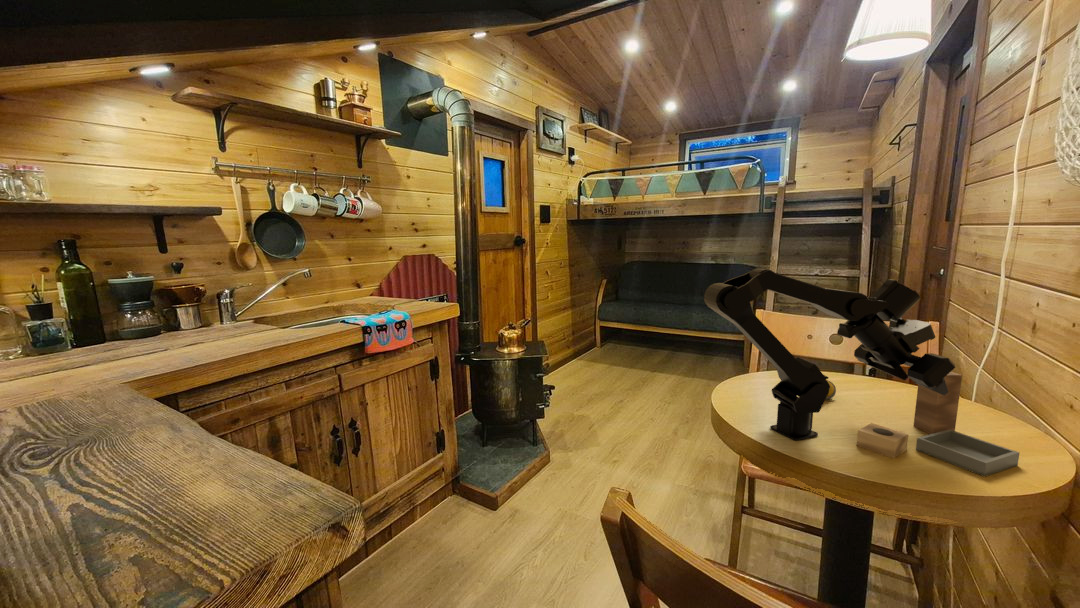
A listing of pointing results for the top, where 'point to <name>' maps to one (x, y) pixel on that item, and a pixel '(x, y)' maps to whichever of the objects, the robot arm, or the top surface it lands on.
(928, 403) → the tall block
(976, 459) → the tray
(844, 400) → the top surface
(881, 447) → the short block
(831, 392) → the grey yellow round piece
